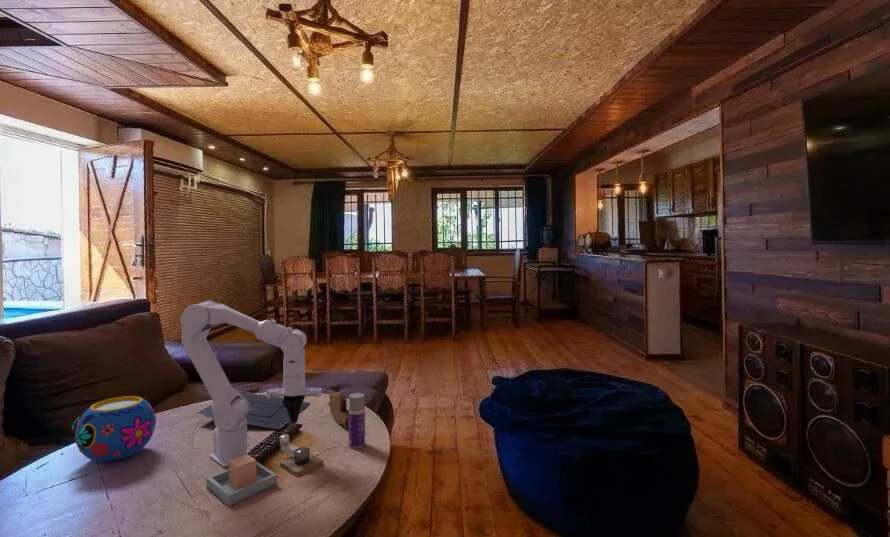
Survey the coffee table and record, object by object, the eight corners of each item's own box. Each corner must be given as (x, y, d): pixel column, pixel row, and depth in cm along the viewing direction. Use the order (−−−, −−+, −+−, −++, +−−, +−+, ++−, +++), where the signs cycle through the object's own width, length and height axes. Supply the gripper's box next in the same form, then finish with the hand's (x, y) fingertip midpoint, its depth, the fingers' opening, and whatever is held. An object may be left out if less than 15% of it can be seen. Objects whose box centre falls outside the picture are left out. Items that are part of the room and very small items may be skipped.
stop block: (228, 485, 102) (228, 460, 101) (247, 477, 105) (247, 454, 105) (237, 491, 99) (237, 466, 99) (256, 483, 102) (256, 459, 102)
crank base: (279, 466, 112) (280, 461, 112) (306, 454, 118) (306, 451, 118) (296, 476, 107) (296, 472, 107) (323, 464, 113) (323, 460, 113)
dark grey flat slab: (233, 397, 160) (234, 388, 160) (310, 410, 158) (311, 400, 158) (191, 423, 135) (192, 412, 135) (280, 438, 134) (282, 427, 134)
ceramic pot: (70, 456, 116) (69, 402, 115) (148, 436, 129) (147, 388, 128) (79, 480, 104) (78, 421, 103) (163, 455, 117) (163, 402, 116)
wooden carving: (358, 429, 136) (358, 398, 135) (345, 433, 133) (345, 402, 132) (335, 413, 148) (335, 386, 148) (323, 417, 145) (323, 388, 145)
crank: (312, 459, 113) (312, 444, 113) (299, 465, 110) (299, 449, 109) (288, 446, 120) (288, 432, 120) (275, 452, 117) (275, 437, 117)
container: (361, 449, 122) (361, 398, 121) (345, 447, 123) (346, 397, 122) (367, 442, 126) (367, 393, 126) (352, 440, 127) (352, 392, 127)
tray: (206, 487, 101) (206, 477, 101) (253, 468, 110) (253, 459, 110) (228, 506, 94) (228, 495, 94) (277, 484, 103) (277, 474, 103)
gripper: (323, 369, 122) (323, 415, 122) (271, 370, 120) (271, 417, 121) (318, 376, 115) (318, 425, 115) (263, 378, 113) (263, 427, 114)
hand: (294, 422), depth 118 cm, fingers closed
